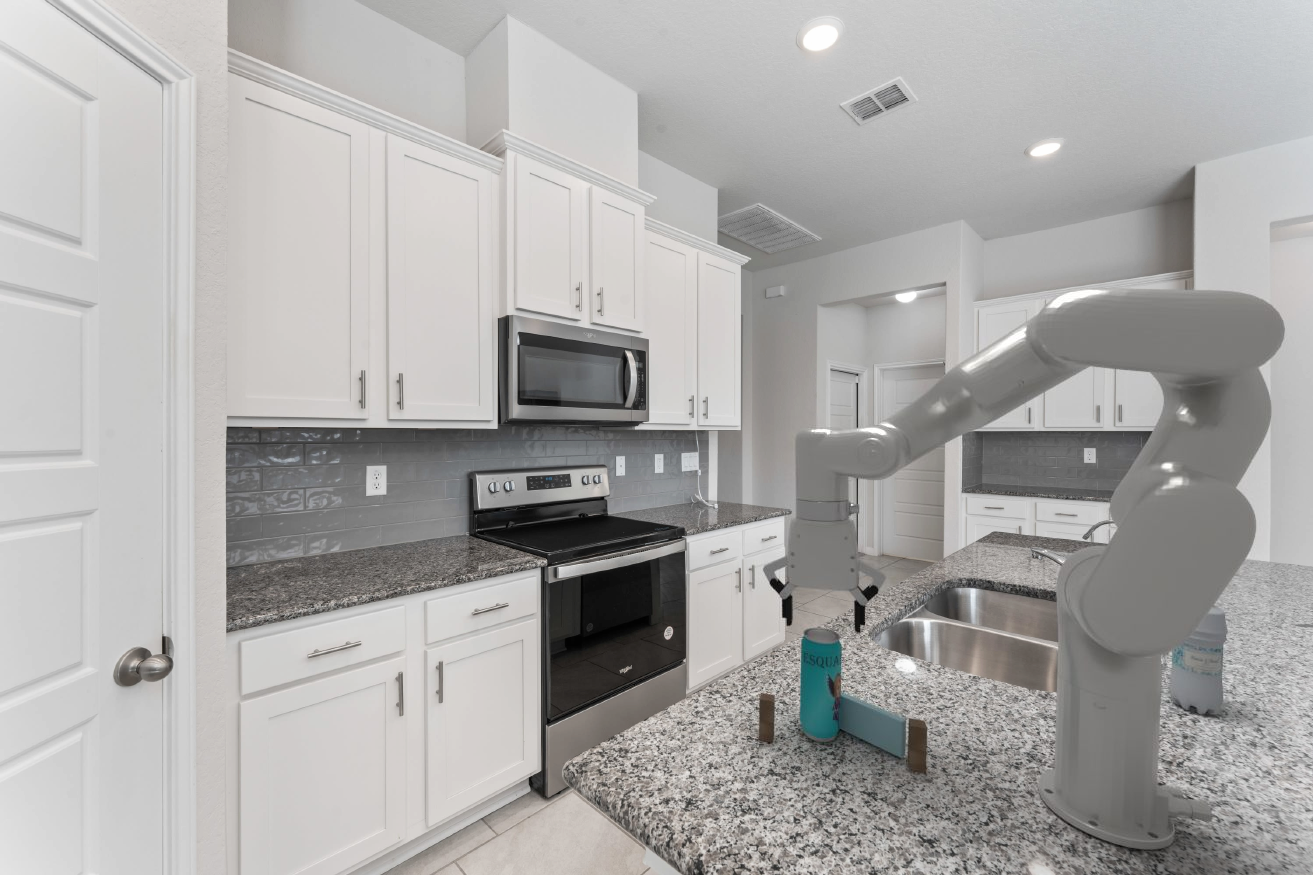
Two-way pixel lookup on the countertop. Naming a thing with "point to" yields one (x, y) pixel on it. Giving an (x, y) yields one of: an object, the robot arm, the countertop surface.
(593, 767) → the countertop surface
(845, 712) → the gate door
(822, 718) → the beverage can
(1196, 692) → the bottle
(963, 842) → the countertop surface
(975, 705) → the countertop surface
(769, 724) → the twin wooden posts
